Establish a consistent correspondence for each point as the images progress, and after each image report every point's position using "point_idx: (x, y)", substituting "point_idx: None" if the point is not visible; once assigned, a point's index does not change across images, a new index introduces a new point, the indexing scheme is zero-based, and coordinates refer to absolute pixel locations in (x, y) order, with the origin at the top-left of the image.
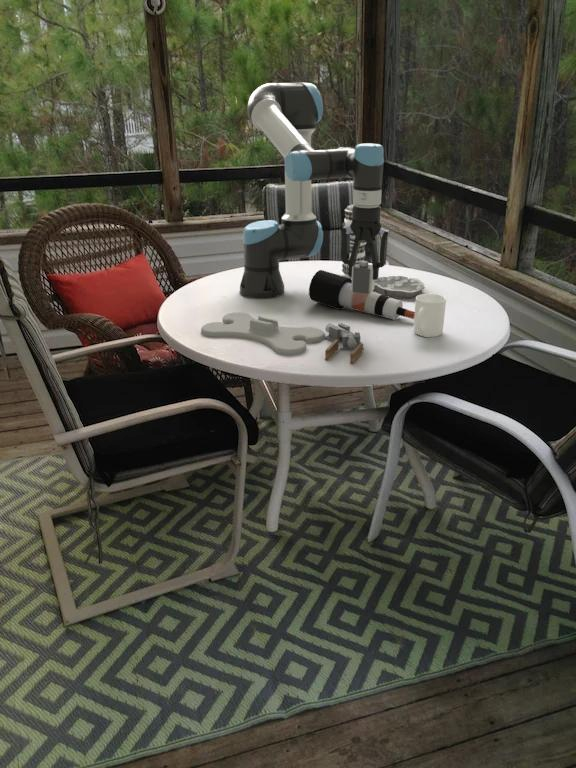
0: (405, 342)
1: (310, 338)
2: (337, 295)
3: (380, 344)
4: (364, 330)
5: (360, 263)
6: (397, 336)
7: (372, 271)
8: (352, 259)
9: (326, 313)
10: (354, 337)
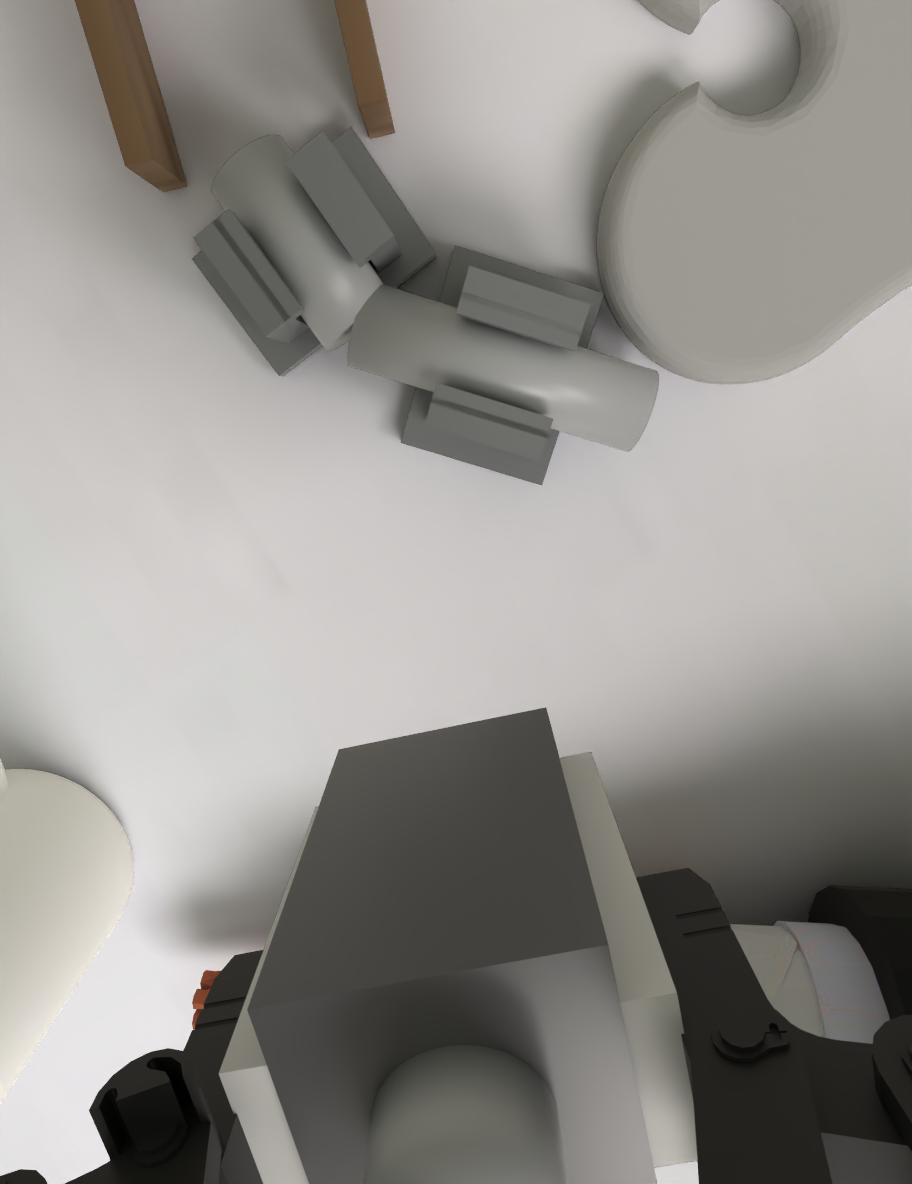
0: (44, 601)
1: (667, 111)
2: (875, 943)
3: (164, 455)
4: (426, 641)
5: (503, 1124)
6: (159, 672)
7: (235, 1031)
8: (741, 1166)
9: (866, 788)
10: (267, 246)
